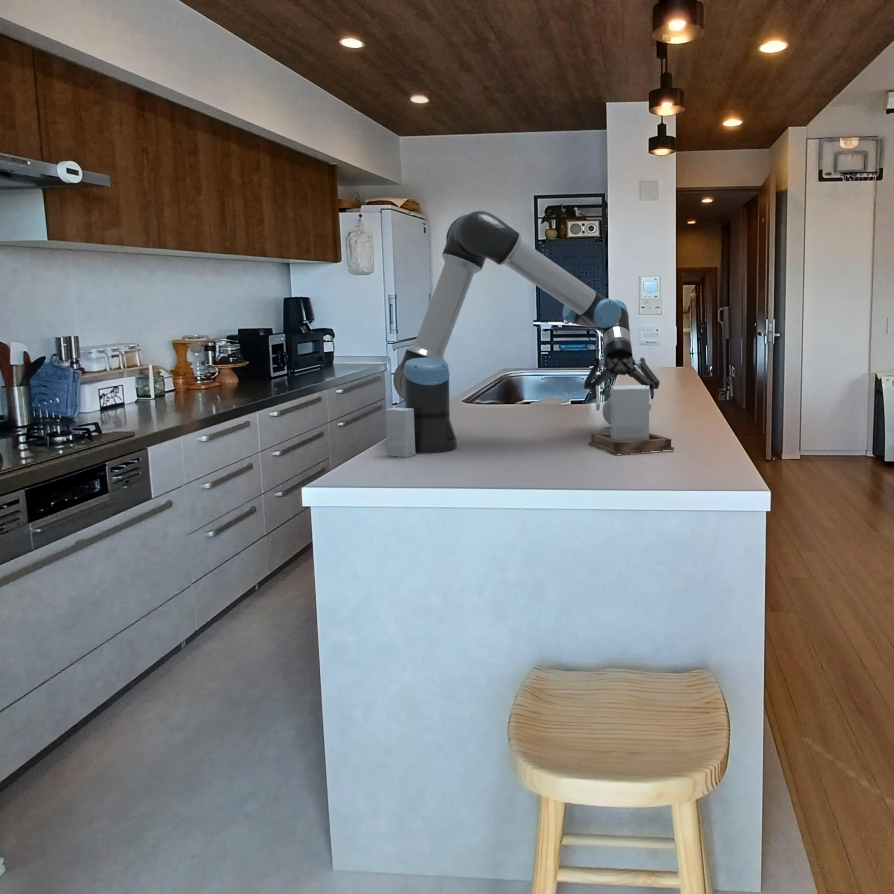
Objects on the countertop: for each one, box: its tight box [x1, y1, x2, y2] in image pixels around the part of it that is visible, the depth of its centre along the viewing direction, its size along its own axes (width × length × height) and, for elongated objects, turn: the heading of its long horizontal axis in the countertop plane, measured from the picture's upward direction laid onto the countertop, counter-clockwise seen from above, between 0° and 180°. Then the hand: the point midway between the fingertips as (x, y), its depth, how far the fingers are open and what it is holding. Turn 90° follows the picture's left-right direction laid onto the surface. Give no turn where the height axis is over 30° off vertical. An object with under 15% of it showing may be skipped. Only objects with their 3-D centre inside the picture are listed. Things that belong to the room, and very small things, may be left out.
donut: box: [602, 396, 611, 426], centre depth 256 cm, size 10×4×10 cm, turn 79°
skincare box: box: [385, 407, 416, 458], centre depth 217 cm, size 6×4×12 cm
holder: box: [588, 432, 675, 456], centre depth 222 cm, size 16×16×3 cm
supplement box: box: [610, 384, 650, 442], centre depth 221 cm, size 9×9×15 cm
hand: (623, 407), depth 231 cm, fingers open, 13 cm apart
